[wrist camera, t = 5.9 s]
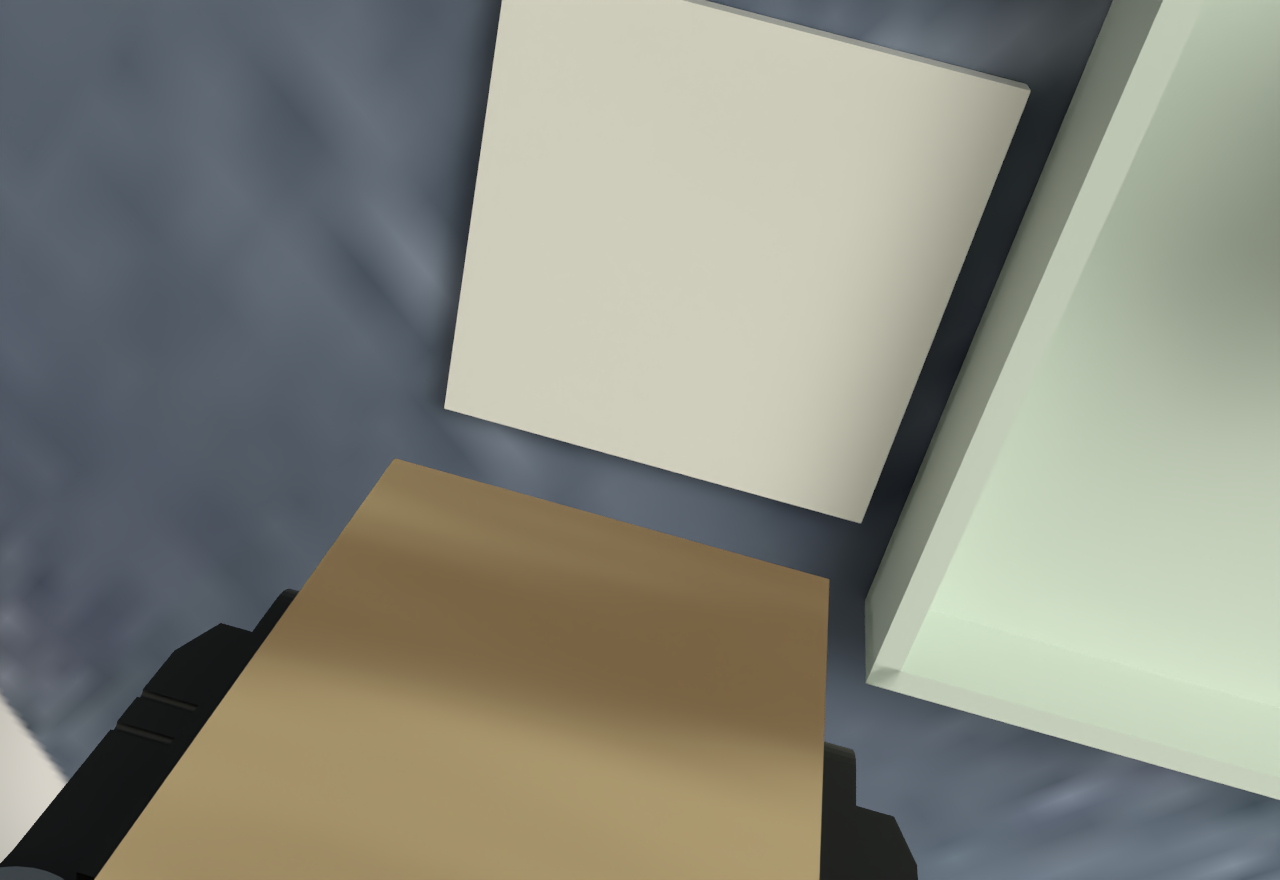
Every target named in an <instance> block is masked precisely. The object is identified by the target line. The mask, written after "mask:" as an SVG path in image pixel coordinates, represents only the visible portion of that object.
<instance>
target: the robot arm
mask: <svg viewBox="0 0 1280 880" xmlns="http://www.w3.org/2000/svg"><path fill="white" fill-rule="evenodd" d="M299 592H300V591H296V590H293V589H287V590H285V591H283V592H282V593H281V594H280V595H279V597H278V598H277V599H276V600H275V602H274V603H273V604H272V606H271V607H270V608H269V610H268V611H267V613H266V614H265V615H264V617H263V618H262V619H261V621H260V622H259V623H258V625H257V626H256V628H255V629H254V630H253V632H250V631H247V630H243V629H240V628H236V627H233V626H229V625H226V624H222V623H220V624H218V625H217V626H215V627H213V628H212V629H210V630H208V631H207V632H205V633H203V634H202V635H200V636H198V637H197V638H195V639H193V640H192V641H190V642H188V643H187V644H185V645H183V646H182V647H180V648H178V649H177V650H175V651H174V652H173V653H172V654H171V656H170V657H169V658H168V659H167V661H166V662H165V663H164V664H163V665H162V667H161V668H160V669H159V670H158V672H157V673H156V674H155V675H154V677H153V678H152V679H151V680H150V682H149V683H148V684H147V685H146V686H145V688H144V689H143V693H142V695H141V697H140V698H139V697H137V698H136V699H135V700H134V701H133V702H132V704H131V705H130V706H129V707H128V709H127V710H126V711H125V712H124V714H123V715H122V716H121V717H120V719H119V720H118V721H117V725H116V727H115V729H114V730H110V731H109V732H108V733H107V735H106V736H105V737H104V738H103V740H102V741H101V742H100V743H99V744H98V746H97V747H96V748H95V749H94V751H93V752H92V753H91V754H90V756H89V757H88V758H87V759H86V761H85V762H84V763H83V764H82V765H81V767H80V768H79V769H78V770H77V772H76V773H75V774H74V775H73V777H72V778H71V779H70V780H69V781H68V783H67V784H66V785H65V786H64V788H63V789H62V790H61V791H60V793H59V794H58V795H57V796H56V798H55V799H54V800H53V801H52V803H51V804H50V805H49V806H48V808H47V809H46V810H45V811H44V812H43V814H42V815H41V816H40V817H39V819H38V820H37V821H36V822H35V823H34V825H33V826H32V827H31V828H30V830H29V831H28V832H27V833H26V835H25V836H24V837H23V838H22V840H21V841H20V842H19V843H18V844H17V846H16V847H15V848H14V849H13V851H12V852H11V853H10V854H9V855H8V856H7V857H6V858H5V859H4V860H3V861H2V862H1V863H0V880H94V879H95V878H96V877H97V875H98V874H99V872H100V871H101V870H102V868H103V867H104V865H105V864H106V863H107V861H108V860H109V858H110V857H111V856H112V854H113V853H114V851H115V850H116V849H117V847H118V846H119V844H120V843H121V842H122V840H123V839H124V837H125V836H126V835H127V833H128V832H129V830H130V829H131V827H132V826H133V825H134V823H135V822H136V820H137V819H138V818H139V816H140V815H141V813H142V812H143V811H144V809H145V808H146V806H147V805H148V804H149V802H150V801H151V799H152V798H153V797H154V795H155V794H156V792H157V791H158V790H159V788H160V787H161V785H162V784H163V783H164V781H165V780H166V778H167V777H168V776H169V774H170V773H171V771H172V770H173V769H174V767H175V766H176V764H177V763H178V762H179V760H180V759H181V757H182V756H183V754H184V753H185V752H186V750H187V749H188V747H189V746H190V745H191V743H192V742H193V740H194V739H195V738H196V736H197V735H198V733H199V732H200V731H201V729H202V728H203V726H204V725H205V724H206V722H207V721H208V719H209V718H210V717H211V715H212V714H213V712H214V711H215V710H216V708H217V707H218V705H219V704H220V703H221V701H222V700H223V698H224V697H225V696H226V694H227V693H228V691H229V690H230V689H231V687H232V686H233V684H234V683H235V681H236V680H237V679H238V677H239V676H240V674H241V673H242V672H243V670H244V669H245V667H246V666H247V665H248V663H249V662H250V660H251V659H252V658H253V656H254V655H255V653H256V652H257V651H258V649H259V648H260V646H261V645H262V644H263V642H264V641H265V639H266V638H267V637H268V635H269V634H270V632H271V631H272V630H273V628H274V627H275V625H276V624H277V623H278V621H279V620H280V618H281V617H282V616H283V614H284V613H285V611H286V610H287V608H288V607H289V606H290V604H291V603H292V601H293V600H294V599H295V597H296V596H297V594H298V593H299ZM819 880H918V875H917V864H916V862H915V860H914V858H913V856H912V854H911V852H910V850H909V847H908V845H907V843H906V841H905V839H904V837H903V835H902V833H901V831H900V828H899V826H898V824H897V822H896V820H895V818H894V817H893V816H890V815H886V814H883V813H879V812H876V811H872V810H869V809H865V808H862V807H858V806H856V758H855V753H854V751H853V750H852V749H849V748H845V747H842V746H838V745H834V744H831V743H827V742H824V755H823V785H822V815H821V844H820V874H819Z"/></svg>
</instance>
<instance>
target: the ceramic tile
mask: <svg viewBox="0 0 1280 880" xmlns="http://www.w3.org/2000/svg"><path fill="white" fill-rule="evenodd" d="M1030 92H1031V90H1030V89H1029V87H1028V86H1027V84H1025V83H1021V82H1017V81H1013V80H1009V79H1005V78H1002V77H998V76H994V75H990V74H986V73H982V72H978V71H975V70H971V69H967V68H963V67H959V66H955V65H952V64H948V63H944V62H940V61H936V60H932V59H928V58H925V57H921V56H917V55H913V54H909V53H905V52H902V51H898V50H894V49H890V48H886V47H882V46H879V45H875V44H871V43H867V42H863V41H859V40H855V39H852V38H848V37H844V36H840V35H836V34H832V33H829V32H825V31H821V30H817V29H813V28H809V27H805V26H802V25H798V24H794V23H790V22H786V21H782V20H779V19H775V18H771V17H767V16H763V15H759V14H756V13H752V12H748V11H744V10H740V9H736V8H732V7H729V6H725V5H721V4H717V3H713V2H709V1H706V0H502V4H501V12H500V19H499V26H498V33H497V40H496V47H495V54H494V61H493V68H492V75H491V82H490V89H489V96H488V103H487V110H486V117H485V124H484V131H483V138H482V145H481V152H480V159H479V166H478V174H477V181H476V188H475V195H474V202H473V209H472V216H471V223H470V230H469V237H468V244H467V251H466V258H465V265H464V272H463V279H462V286H461V293H460V300H459V307H458V314H457V321H456V328H455V336H454V343H453V350H452V357H451V364H450V371H449V378H448V385H447V392H446V399H445V406H444V409H448V410H452V411H455V412H459V413H462V414H466V415H470V416H473V417H477V418H481V419H484V420H488V421H491V422H495V423H499V424H502V425H506V426H510V427H513V428H517V429H520V430H524V431H528V432H531V433H535V434H538V435H542V436H546V437H549V438H553V439H557V440H560V441H564V442H567V443H571V444H575V445H578V446H582V447H585V448H589V449H593V450H596V451H600V452H604V453H607V454H611V455H614V456H618V457H622V458H625V459H629V460H633V461H636V462H640V463H643V464H647V465H651V466H654V467H658V468H661V469H665V470H669V471H672V472H676V473H680V474H683V475H687V476H690V477H694V478H698V479H701V480H705V481H709V482H712V483H716V484H719V485H723V486H727V487H730V488H734V489H737V490H741V491H745V492H748V493H752V494H756V495H759V496H763V497H766V498H770V499H774V500H777V501H781V502H784V503H788V504H792V505H795V506H799V507H803V508H806V509H810V510H813V511H817V512H821V513H824V514H828V515H832V516H835V517H839V518H842V519H846V520H850V521H853V522H857V523H860V524H861V522H862V520H863V517H864V515H865V512H866V510H867V507H868V505H869V502H870V499H871V497H872V494H873V492H874V489H875V487H876V484H877V482H878V479H879V477H880V474H881V471H882V469H883V466H884V464H885V461H886V459H887V456H888V454H889V451H890V449H891V446H892V443H893V441H894V438H895V436H896V433H897V431H898V428H899V426H900V423H901V421H902V418H903V415H904V413H905V410H906V408H907V405H908V403H909V400H910V398H911V395H912V392H913V390H914V387H915V385H916V382H917V380H918V377H919V375H920V372H921V370H922V367H923V364H924V362H925V359H926V357H927V354H928V352H929V349H930V347H931V344H932V342H933V339H934V336H935V334H936V331H937V329H938V326H939V324H940V321H941V319H942V316H943V313H944V311H945V308H946V306H947V303H948V301H949V298H950V296H951V293H952V291H953V288H954V285H955V283H956V280H957V278H958V275H959V273H960V270H961V268H962V265H963V263H964V260H965V257H966V255H967V252H968V250H969V247H970V245H971V242H972V240H973V237H974V234H975V232H976V229H977V227H978V224H979V222H980V219H981V217H982V214H983V212H984V209H985V206H986V204H987V201H988V199H989V196H990V194H991V191H992V189H993V186H994V184H995V181H996V178H997V176H998V173H999V171H1000V168H1001V166H1002V163H1003V161H1004V158H1005V156H1006V153H1007V150H1008V148H1009V145H1010V143H1011V140H1012V138H1013V135H1014V133H1015V130H1016V127H1017V125H1018V122H1019V120H1020V117H1021V115H1022V112H1023V110H1024V107H1025V105H1026V102H1027V99H1028V97H1029V94H1030Z"/></svg>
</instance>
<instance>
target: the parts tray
mask: <svg viewBox="0 0 1280 880" xmlns="http://www.w3.org/2000/svg"><path fill="white" fill-rule="evenodd" d="M865 666H866V683H867V684H870V685H874V686H877V687H881V688H884V689H888V690H891V691H895V692H899V693H902V694H906V695H909V696H913V697H916V698H920V699H923V700H927V701H930V702H934V703H938V704H941V705H945V706H948V707H952V708H955V709H959V710H962V711H966V712H970V713H973V714H977V715H980V716H984V717H987V718H991V719H994V720H998V721H1001V722H1005V723H1009V724H1012V725H1016V726H1019V727H1023V728H1026V729H1030V730H1033V731H1037V732H1041V733H1044V734H1048V735H1051V736H1055V737H1058V738H1062V739H1065V740H1069V741H1072V742H1076V743H1080V744H1083V745H1087V746H1090V747H1094V748H1097V749H1101V750H1104V751H1108V752H1111V753H1115V754H1119V755H1122V756H1126V757H1129V758H1133V759H1136V760H1140V761H1143V762H1147V763H1151V764H1154V765H1158V766H1161V767H1165V768H1168V769H1172V770H1175V771H1179V772H1182V773H1186V774H1190V775H1193V776H1197V777H1200V778H1204V779H1207V780H1211V781H1214V782H1218V783H1222V784H1225V785H1229V786H1232V787H1236V788H1239V789H1243V790H1246V791H1250V792H1253V793H1257V794H1261V795H1264V796H1268V797H1271V798H1275V799H1278V800H1280V0H1113V1H1112V4H1111V6H1110V8H1109V11H1108V13H1107V16H1106V18H1105V21H1104V23H1103V25H1102V28H1101V30H1100V33H1099V35H1098V38H1097V40H1096V42H1095V45H1094V47H1093V50H1092V52H1091V54H1090V57H1089V59H1088V62H1087V64H1086V67H1085V69H1084V71H1083V74H1082V76H1081V79H1080V81H1079V84H1078V86H1077V88H1076V91H1075V93H1074V96H1073V98H1072V100H1071V103H1070V105H1069V108H1068V110H1067V113H1066V115H1065V117H1064V120H1063V122H1062V125H1061V127H1060V130H1059V132H1058V134H1057V137H1056V139H1055V142H1054V144H1053V146H1052V149H1051V151H1050V154H1049V156H1048V159H1047V161H1046V163H1045V166H1044V168H1043V171H1042V173H1041V176H1040V178H1039V180H1038V183H1037V185H1036V188H1035V190H1034V192H1033V195H1032V197H1031V200H1030V202H1029V205H1028V207H1027V209H1026V212H1025V214H1024V217H1023V219H1022V222H1021V224H1020V226H1019V229H1018V231H1017V234H1016V236H1015V238H1014V241H1013V243H1012V246H1011V248H1010V251H1009V253H1008V255H1007V258H1006V260H1005V263H1004V265H1003V268H1002V270H1001V272H1000V275H999V277H998V280H997V282H996V284H995V287H994V289H993V292H992V294H991V297H990V299H989V301H988V304H987V306H986V309H985V311H984V314H983V316H982V318H981V321H980V323H979V326H978V328H977V330H976V333H975V335H974V338H973V340H972V343H971V345H970V347H969V350H968V352H967V355H966V357H965V360H964V362H963V364H962V367H961V369H960V372H959V374H958V376H957V379H956V381H955V384H954V386H953V389H952V391H951V393H950V396H949V398H948V401H947V403H946V406H945V408H944V410H943V413H942V415H941V418H940V420H939V422H938V425H937V427H936V430H935V432H934V435H933V437H932V439H931V442H930V444H929V447H928V449H927V452H926V454H925V456H924V459H923V461H922V464H921V466H920V468H919V471H918V473H917V476H916V478H915V481H914V483H913V485H912V488H911V490H910V493H909V495H908V497H907V500H906V502H905V505H904V507H903V510H902V512H901V514H900V517H899V519H898V522H897V524H896V527H895V529H894V531H893V534H892V536H891V539H890V541H889V543H888V546H887V548H886V551H885V553H884V556H883V558H882V560H881V563H880V565H879V568H878V570H877V573H876V575H875V577H874V580H873V582H872V585H871V587H870V589H869V592H868V594H867V597H866V599H865Z"/></svg>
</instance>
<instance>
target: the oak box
mask: <svg viewBox="0 0 1280 880" xmlns="http://www.w3.org/2000/svg"><path fill="white" fill-rule="evenodd" d="M828 606H829V579H826V578H823V577H819V576H816V575H812V574H808V573H805V572H801V571H798V570H794V569H790V568H787V567H783V566H780V565H776V564H773V563H769V562H765V561H762V560H758V559H755V558H751V557H747V556H744V555H740V554H737V553H733V552H729V551H726V550H722V549H719V548H715V547H711V546H708V545H704V544H701V543H697V542H693V541H690V540H686V539H683V538H679V537H675V536H672V535H668V534H665V533H661V532H658V531H654V530H650V529H647V528H643V527H640V526H636V525H632V524H629V523H625V522H622V521H618V520H614V519H611V518H607V517H604V516H600V515H596V514H593V513H589V512H586V511H582V510H578V509H575V508H571V507H568V506H564V505H560V504H557V503H553V502H550V501H546V500H543V499H539V498H535V497H532V496H528V495H525V494H521V493H517V492H514V491H510V490H507V489H503V488H499V487H496V486H492V485H489V484H485V483H481V482H478V481H474V480H471V479H467V478H463V477H460V476H456V475H453V474H449V473H445V472H442V471H438V470H435V469H431V468H427V467H424V466H420V465H417V464H413V463H410V462H406V461H402V460H399V459H395V458H394V460H393V461H392V462H391V464H390V465H389V467H388V468H387V470H386V471H385V472H384V474H383V475H382V477H381V478H380V479H379V481H378V482H377V484H376V485H375V486H374V488H373V489H372V491H371V492H370V493H369V495H368V496H367V498H366V499H365V500H364V502H363V503H362V505H361V506H360V507H359V509H358V510H357V512H356V513H355V514H354V516H353V517H352V519H351V520H350V521H349V523H348V524H347V526H346V527H345V528H344V530H343V531H342V533H341V534H340V535H339V537H338V538H337V540H336V541H335V543H334V544H333V545H332V547H331V548H330V550H329V551H328V552H327V554H326V555H325V557H324V558H323V559H322V561H321V562H320V564H319V565H318V566H317V568H316V569H315V571H314V572H313V573H312V575H311V576H310V578H309V579H308V580H307V582H306V583H305V585H304V586H303V587H302V589H301V590H300V592H299V593H298V594H297V596H296V597H295V599H294V600H293V601H292V603H291V604H290V606H289V607H288V608H287V610H286V611H285V613H284V614H283V616H282V617H281V618H280V620H279V621H278V623H277V624H276V625H275V627H274V628H273V630H272V631H271V632H270V634H269V635H268V637H267V638H266V639H265V641H264V642H263V644H262V645H261V646H260V648H259V649H258V651H257V652H256V653H255V655H254V656H253V658H252V659H251V660H250V662H249V663H248V665H247V666H246V667H245V669H244V670H243V672H242V673H241V674H240V676H239V677H238V679H237V680H236V681H235V683H234V684H233V686H232V687H231V689H230V690H229V691H228V693H227V694H226V696H225V697H224V698H223V700H222V701H221V703H220V704H219V705H218V707H217V708H216V710H215V711H214V712H213V714H212V715H211V717H210V718H209V719H208V721H207V722H206V724H205V725H204V726H203V728H202V729H201V731H200V732H199V733H198V735H197V736H196V738H195V739H194V740H193V742H192V743H191V745H190V746H189V747H188V749H187V750H186V752H185V753H184V754H183V756H182V757H181V759H180V760H179V762H178V763H177V764H176V766H175V767H174V769H173V770H172V771H171V773H170V774H169V776H168V777H167V778H166V780H165V781H164V783H163V784H162V785H161V787H160V788H159V790H158V791H157V792H156V794H155V795H154V797H153V798H152V799H151V801H150V802H149V804H148V805H147V806H146V808H145V809H144V811H143V812H142V813H141V815H140V816H139V818H138V819H137V820H136V822H135V823H134V825H133V826H132V827H131V829H130V830H129V832H128V833H127V835H126V836H125V837H124V839H123V840H122V842H121V843H120V844H119V846H118V847H117V849H116V850H115V851H114V853H113V854H112V856H111V857H110V858H109V860H108V861H107V863H106V864H105V865H104V867H103V868H102V870H101V871H100V872H99V874H98V875H97V877H96V878H95V879H94V880H819V874H820V844H821V815H822V785H823V755H824V725H825V695H826V666H827V636H828Z"/></svg>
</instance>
